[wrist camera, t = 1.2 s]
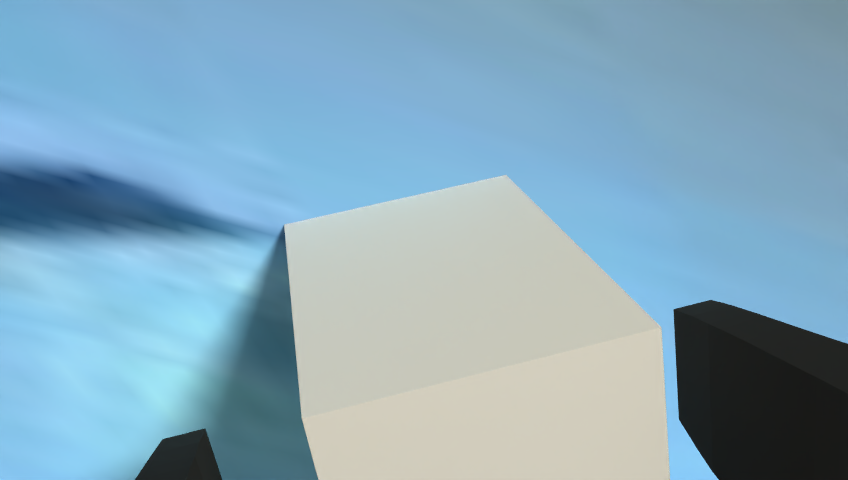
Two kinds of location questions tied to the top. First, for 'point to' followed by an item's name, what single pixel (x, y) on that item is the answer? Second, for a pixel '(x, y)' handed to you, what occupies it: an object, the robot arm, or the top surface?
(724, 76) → the top surface
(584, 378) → the chute block
